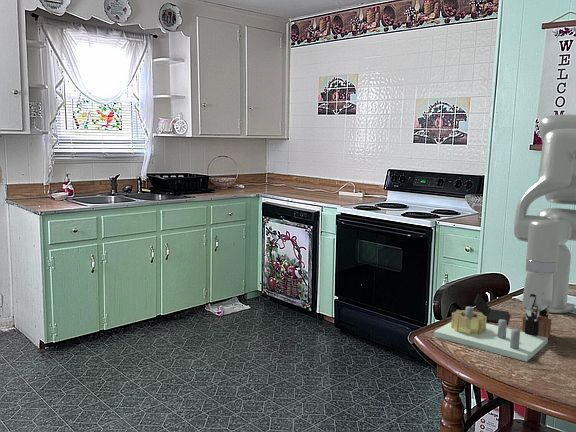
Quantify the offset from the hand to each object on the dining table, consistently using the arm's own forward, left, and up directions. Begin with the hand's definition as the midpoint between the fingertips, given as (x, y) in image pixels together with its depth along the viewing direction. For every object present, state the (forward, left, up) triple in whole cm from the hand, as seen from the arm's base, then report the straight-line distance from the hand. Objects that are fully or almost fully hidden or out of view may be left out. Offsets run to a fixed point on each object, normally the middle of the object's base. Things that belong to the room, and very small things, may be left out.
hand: (536, 330), depth 145 cm
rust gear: (0, 0, -2) cm, 2 cm away
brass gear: (+11, -14, 0) cm, 18 cm away
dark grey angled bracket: (-8, -15, -2) cm, 17 cm away
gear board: (+11, -8, -2) cm, 14 cm away
